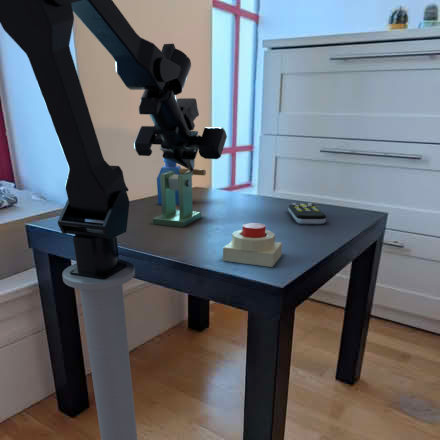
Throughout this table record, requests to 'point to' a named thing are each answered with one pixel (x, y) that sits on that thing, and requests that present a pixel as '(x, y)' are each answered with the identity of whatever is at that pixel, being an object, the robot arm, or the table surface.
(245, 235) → the button
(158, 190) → the perfume bottle
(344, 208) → the table surface
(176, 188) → the lever
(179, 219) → the bracket
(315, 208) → the remote control
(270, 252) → the control box
